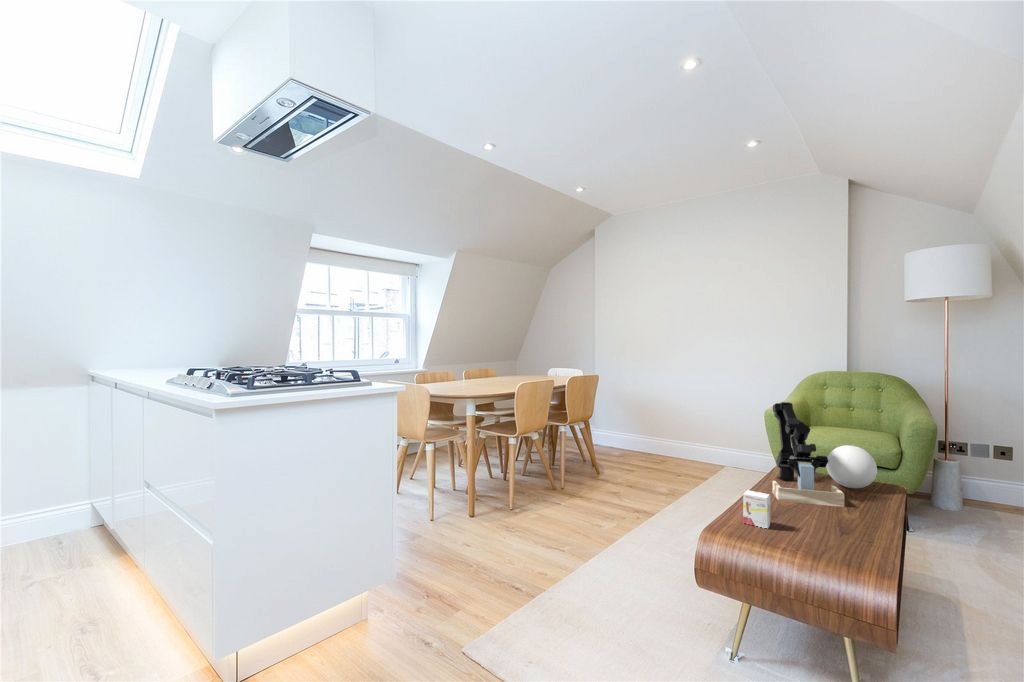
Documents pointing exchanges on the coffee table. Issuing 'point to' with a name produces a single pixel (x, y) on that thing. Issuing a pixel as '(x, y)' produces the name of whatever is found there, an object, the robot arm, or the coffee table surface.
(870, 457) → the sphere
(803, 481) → the pale blue block
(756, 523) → the ink box
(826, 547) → the coffee table surface
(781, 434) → the robot arm
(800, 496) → the birch crate
